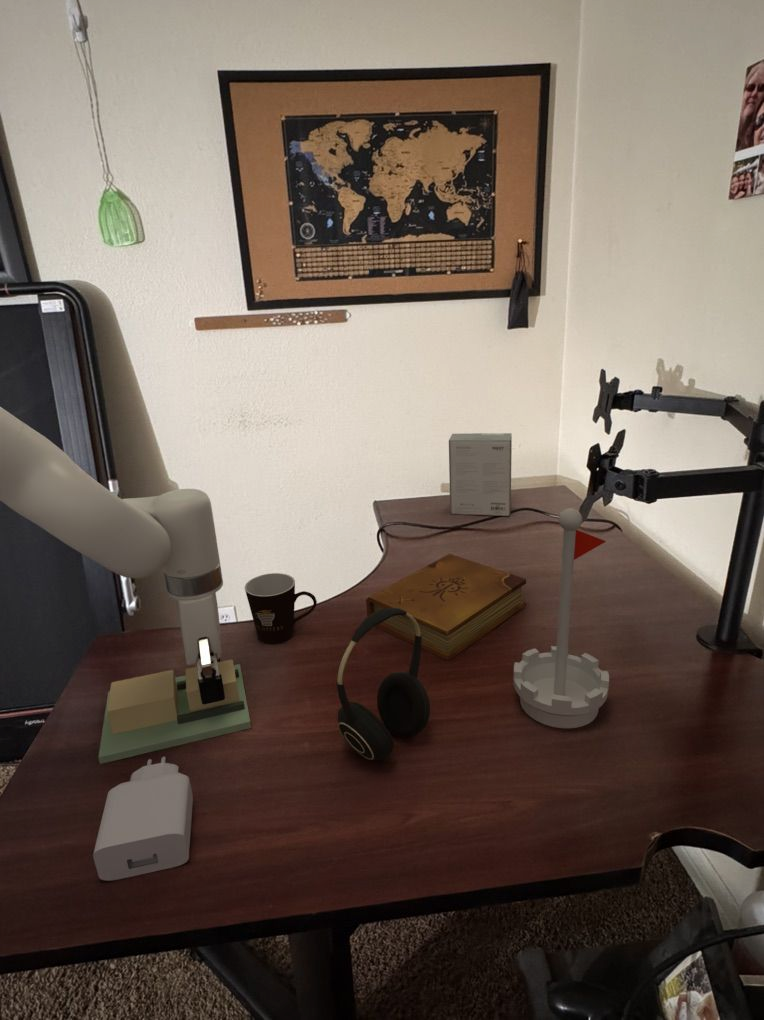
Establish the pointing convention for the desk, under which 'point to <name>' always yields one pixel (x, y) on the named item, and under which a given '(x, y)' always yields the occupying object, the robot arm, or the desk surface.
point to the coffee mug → (274, 606)
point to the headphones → (384, 700)
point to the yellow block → (228, 684)
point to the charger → (145, 823)
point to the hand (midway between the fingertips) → (211, 681)
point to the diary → (449, 604)
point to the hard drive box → (480, 473)
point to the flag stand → (563, 654)
